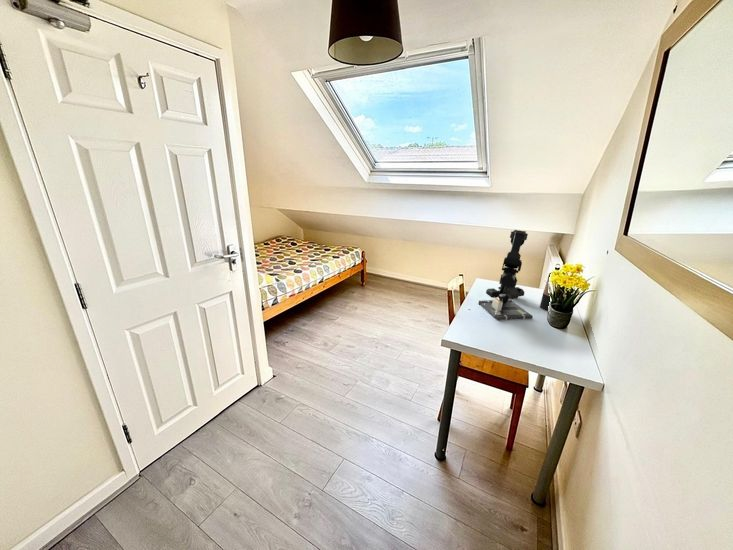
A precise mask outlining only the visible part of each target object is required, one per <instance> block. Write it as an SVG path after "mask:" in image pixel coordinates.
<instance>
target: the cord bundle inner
mask: <svg viewBox="0 0 733 550" xmlns="http://www.w3.org/2000/svg"><path fill="white" fill-rule="evenodd" d="M492 302H493V299H490V300H489V299H486V300H478V303H477V304H478V305H479V306H480V305H481V303H492ZM507 302H514V300H513V299H509V300H508V301H507Z"/></svg>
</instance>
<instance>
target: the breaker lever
mask: <svg viewBox="0 0 733 550" xmlns="http://www.w3.org/2000/svg"><path fill="white" fill-rule="evenodd" d="M492 300H493V302H492V307H493V308H494V309H495V310H496V311H501V308H502V304H503V303H502V302H501V301H500V300H499V298H498V297H497V298H492Z"/></svg>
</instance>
